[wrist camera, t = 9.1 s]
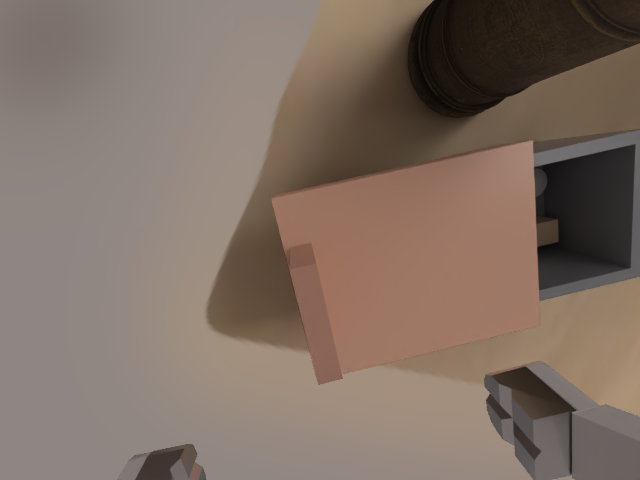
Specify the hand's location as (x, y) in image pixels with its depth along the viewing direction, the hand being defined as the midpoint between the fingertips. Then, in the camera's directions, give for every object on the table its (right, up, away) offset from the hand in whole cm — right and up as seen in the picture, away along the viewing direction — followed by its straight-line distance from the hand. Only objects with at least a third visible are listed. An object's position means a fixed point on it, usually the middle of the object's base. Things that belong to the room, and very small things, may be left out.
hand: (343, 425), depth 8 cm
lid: (+5, +4, +12) cm, 14 cm away
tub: (+13, +7, +19) cm, 24 cm away
